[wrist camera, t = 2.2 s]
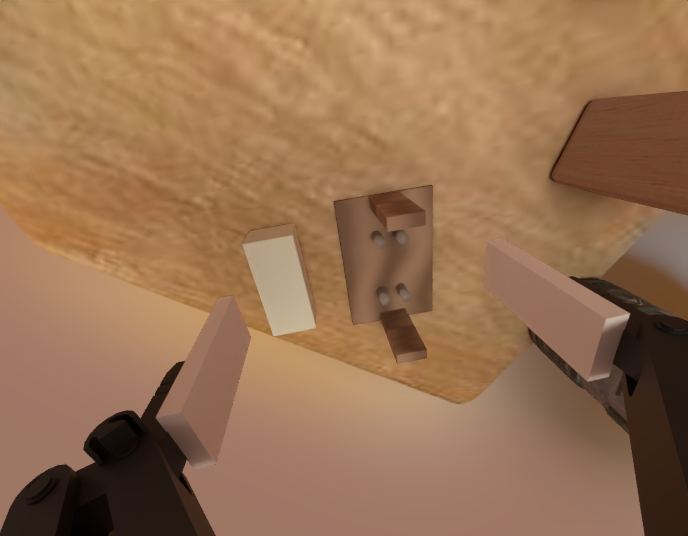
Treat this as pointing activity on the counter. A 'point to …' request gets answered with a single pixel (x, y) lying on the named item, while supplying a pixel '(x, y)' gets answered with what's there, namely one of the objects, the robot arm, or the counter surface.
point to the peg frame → (389, 262)
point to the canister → (607, 386)
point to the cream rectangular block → (281, 278)
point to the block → (631, 150)
